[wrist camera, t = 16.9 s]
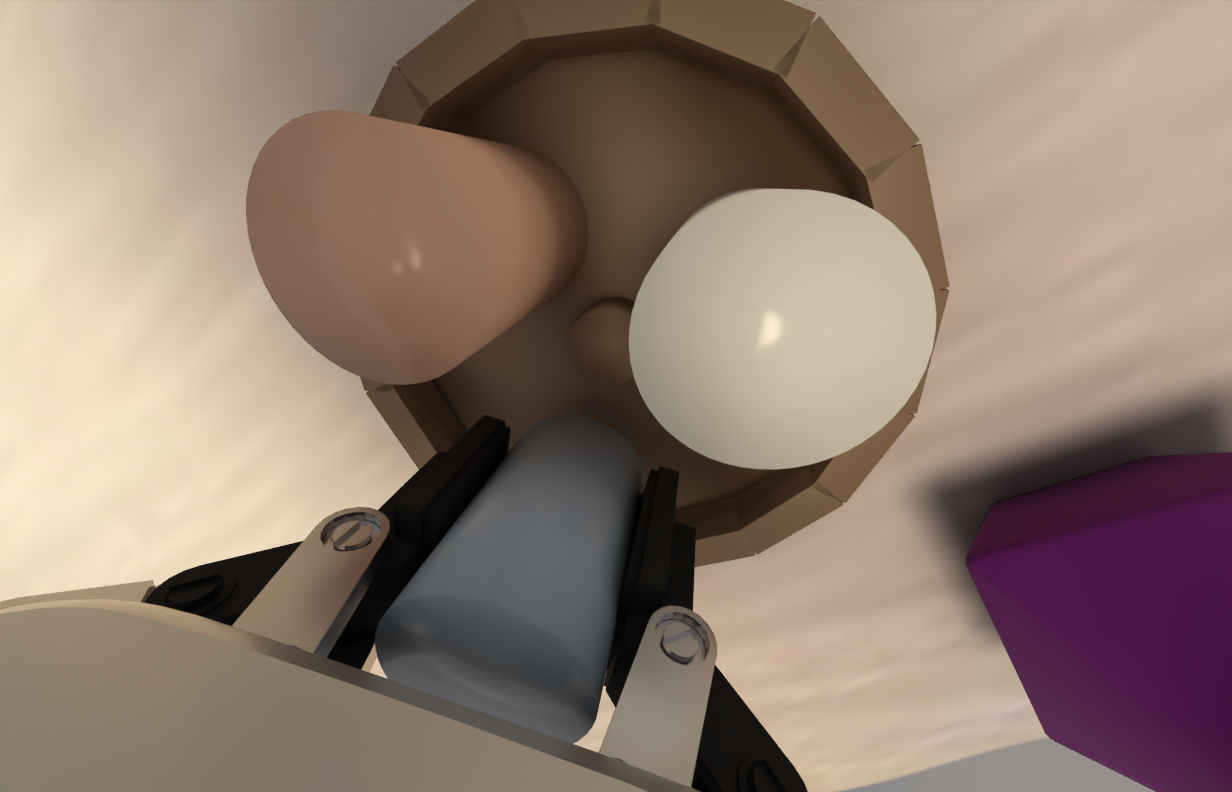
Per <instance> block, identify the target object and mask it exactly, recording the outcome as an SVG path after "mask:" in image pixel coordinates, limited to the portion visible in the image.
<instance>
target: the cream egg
mask: <svg viewBox="0 0 1232 792" xmlns="http://www.w3.org/2000/svg"><path fill="white" fill-rule="evenodd" d="M935 332H936V306H935V298H934V291H933V288H932V284H931V281H930V277H929V274H928V271H927V269H926V267H925V265H924V263H923V261H922V259H921V257H920V255H919V253H918V252H917V251H916V249H915V248H914V247H913V245H912V244H911V242H910V241H909V240H908V238H907V237H906V236H905V235H904V234H903V233H902V232H901V231H900V230H899V229H898V228H897V227H896V226H895V225H894V224H893V223H892V222H890V221H889V220H888V219H886V218H885V217H883V216H882V215H881V214H879V213H878V212H876V211H875V210H873V209H871V208H869V207H867V206H865V205H863V204H861V203H859V202H857V201H855V200H852V199H849V198H846V197H843V196H839V195H836V194H833V193H827V192H821V191H815V190H800V189H769V188H744V189H737V190H733V191H729V192H726V193H723V194H721V195H718V196H716V197H714V198H712V199H710V200H709V201H707V202H705V203H704V204H702V205H701V206H700V207H698V208H697V209H696V210H695V211H694V212H693V213H692V214H691V215H690V216H689V217H688V218H687V219H686V220H685V221H684V223H683V224H682V225H681V226H680V228H679V229H678V231H677V232H676V233H675V235H674V236H673V237H672V239H671V240H670V241H669V243H668V244H667V246H666V247H665V248H664V250H663V251H662V252H661V254H660V255H659V256H658V258H657V259H656V261H655V262H654V264H653V265H652V267H651V269H650V270H649V272H648V273H647V275H646V277H645V279H644V281H643V283H642V285H641V287H640V290H639V292H638V294H637V297H636V301H635V304H634V307H633V310H632V315H631V321H630V327H629V353H630V363H631V367H632V371H633V375H634V379H635V382H636V384H637V387H638V389H639V392H640V394H641V396H642V398H643V400H644V401H645V403H646V405H647V407H648V408H649V410H650V411H651V412H652V414H653V415H654V417H655V418H656V419H657V421H658V422H659V423H660V424H661V425H662V426H663V427H664V428H665V429H666V430H667V431H668V432H669V433H670V434H671V435H673V436H674V437H675V438H676V439H678V440H679V441H680V442H681V443H683V444H684V445H686V446H688V447H689V448H691V449H692V450H694V451H696V452H698V453H700V454H702V455H704V456H706V457H708V458H711V459H714V460H717V461H719V462H722V463H725V464H730V465H734V466H738V467H744V468H752V469H786V468H795V467H800V466H805V465H810V464H814V463H817V462H821V461H824V460H827V459H830V458H832V457H835V456H837V455H839V454H842V453H844V452H846V451H848V450H850V449H852V448H853V447H855V446H857V445H859V444H861V443H862V442H864V441H865V440H867V439H868V438H869V437H871V436H872V435H874V434H875V433H876V432H878V431H879V430H880V429H881V428H882V427H884V426H885V425H886V424H887V423H888V422H889V421H890V420H891V419H892V418H893V417H894V416H895V415H896V414H897V413H898V412H899V411H900V409H901V408H902V407H903V406H904V405H905V404H906V402H907V401H908V399H909V398H910V396H911V395H912V393H913V392H914V390H915V389H916V388H917V386H918V384H919V382H920V380H921V378H922V376H923V374H924V372H925V370H926V367H927V364H928V361H929V358H930V355H931V352H932V348H933V343H934V337H935Z"/></svg>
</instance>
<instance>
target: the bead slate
mask: <svg viewBox="0 0 1232 792" xmlns="http://www.w3.org/2000/svg"><path fill="white" fill-rule="evenodd" d="M645 486H646V477H645V471H644V467H643V464H642V462H641V460H640V457H639V456H638V454H637V452H636V451H635V449H634V448H633V447H632V445H631V444H630V443H629V442H628V441H627V440H626V439H625V438H624V437H623V436H622V435H621V434H619V433H618V432H617V431H616V430H614V429H612V428H611V427H609V426H608V425H606V424H604V423H601V422H599V421H597V420H594V419H591V418H587V417H583V416H576V415H560V416H553V417H549V418H546V419H543V420H541V421H539V422H537V423H535V424H533V425H532V426H530V427H529V428H528V429H527V430H526V431H525V432H524V433H523V434H522V435H521V437H520V438H519V439H518V440H517V442H516V443H515V444H514V446H513V447H512V448H511V450H510V451H509V452H508V453H507V455H506V456H505V457H504V459H503V460H502V461H501V463H500V464H499V465H498V467H497V468H496V469H495V470H494V472H493V473H492V474H491V476H490V477H489V478H488V480H487V481H486V482H485V484H484V485H483V486H482V487H481V489H480V490H479V491H478V493H477V494H476V495H475V497H474V498H473V499H472V500H471V502H470V503H469V504H468V506H467V507H466V508H465V510H464V511H463V512H462V514H461V515H460V516H459V517H458V519H457V520H456V521H455V523H454V524H453V525H452V527H451V528H450V529H449V531H448V532H447V533H446V534H445V536H444V537H443V538H442V540H441V541H440V542H439V544H438V545H437V546H436V548H435V549H434V550H433V551H432V553H431V554H430V555H429V557H428V558H427V559H426V561H425V562H424V563H423V565H422V566H421V567H420V568H419V570H418V571H417V572H416V574H415V575H414V576H413V578H412V579H411V580H410V581H409V583H408V584H407V585H406V587H405V588H404V589H403V591H402V592H401V593H400V595H399V596H398V597H397V598H396V600H395V601H394V602H393V604H392V605H391V606H390V608H389V609H388V610H387V612H386V613H385V614H384V615H383V617H382V618H381V620H380V622H379V624H378V626H377V630H376V633H375V648H376V654H377V657H378V660H379V663H380V665H381V667H382V669H383V671H384V673H385V675H386V676H387V678H388V679H389V680H392V681H395V682H398V683H401V684H404V685H406V686H409V687H412V688H415V689H418V690H421V691H424V692H427V693H429V694H432V695H435V696H438V697H441V698H444V699H447V700H450V701H452V702H455V703H458V704H461V705H464V706H467V707H470V708H472V709H475V710H478V711H481V712H484V713H487V714H490V715H492V716H495V717H498V718H501V719H504V720H507V721H509V722H512V723H515V724H518V725H521V726H524V727H526V728H529V729H532V730H535V731H538V732H540V733H543V734H546V735H549V736H552V737H555V738H557V739H560V740H563V741H566V742H569V743H571V744H573V743H575V742H577V741H579V740H580V739H581V738H582V737H584V736H585V735H586V734H587V733H588V732H589V730H590V729H591V728H592V726H593V724H594V722H595V720H596V717H597V712H598V708H599V703H600V698H601V694H602V689H603V684H604V680H605V675H606V670H607V666H608V661H609V657H610V652H611V647H612V643H613V638H614V633H615V629H616V613H617V609H618V604H619V600H620V595H621V591H622V586H623V582H624V577H625V572H626V568H627V563H628V559H629V554H630V550H631V545H632V541H633V536H634V532H635V527H636V523H637V518H638V514H639V509H640V505H641V500H642V496H643V492H644V489H645Z"/></svg>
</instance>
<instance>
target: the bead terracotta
mask: <svg viewBox="0 0 1232 792" xmlns="http://www.w3.org/2000/svg"><path fill="white" fill-rule="evenodd" d="M246 217H247V227H248V234H249V239H250V244H251V248H252V252H253V255H254V258H255V261H256V265H257V267H258V270H259V272H260V275H261V277H262V279H263V282H264V284H265V286H266V288H267V289H268V291H269V293H270V295H271V297H272V299H273V300H274V302H275V303H276V305H277V306H278V308H279V309H280V311H281V312H282V314H283V315H284V317H285V318H286V319H287V320H288V322H289V323H290V324H291V325H292V327H293V328H294V329H295V330H296V331H297V332H298V333H299V334H300V335H301V336H302V337H303V339H304V340H305V341H307V342H308V343H309V344H310V345H311V346H312V347H313V348H314V349H315V350H317V351H318V352H319V353H321V354H322V355H323V356H325V357H326V358H327V359H329V360H330V361H332V362H333V363H335V364H337V365H338V366H340V367H341V368H343V369H345V370H347V371H349V372H351V373H353V374H356V375H358V376H361V377H363V378H366V379H369V380H372V381H377V382H381V383H386V384H396V385H406V384H416V383H422V382H426V381H429V380H432V379H435V378H438V377H439V376H441V375H443V374H445V373H447V372H449V371H450V370H451V369H453V368H454V367H456V366H457V365H459V364H460V363H461V362H463V361H464V360H466V359H467V358H468V357H470V356H471V355H473V354H474V353H475V352H477V351H478V350H480V349H481V348H483V347H484V346H485V345H487V344H488V343H490V342H491V341H492V340H494V339H495V338H497V337H498V336H499V335H501V334H502V333H504V332H505V331H507V330H508V329H509V328H511V327H512V326H514V325H515V324H516V323H518V322H519V321H521V320H522V319H523V318H525V317H526V316H528V315H529V314H530V313H532V312H533V311H535V310H536V309H538V308H539V307H540V306H542V305H543V304H545V303H546V302H547V301H549V300H550V299H552V298H553V297H554V296H556V295H557V294H559V293H560V292H561V291H563V290H564V289H565V288H566V287H567V286H568V285H569V284H570V283H571V282H572V281H573V279H574V278H575V277H576V275H577V274H578V272H579V270H580V268H581V266H582V264H583V261H584V258H585V255H586V251H587V244H588V223H587V216H586V212H585V208H584V205H583V202H582V199H581V197H580V195H579V193H578V191H577V189H576V187H575V185H574V184H573V182H572V181H571V179H570V178H569V177H568V176H567V174H566V173H565V172H564V171H563V170H562V169H561V168H560V167H559V166H558V165H557V164H556V163H554V162H553V161H552V160H550V159H549V158H547V157H546V156H544V155H542V154H540V153H538V152H536V151H533V150H530V149H527V148H523V147H518V146H513V145H509V144H504V143H499V142H494V141H489V140H484V139H480V138H475V137H470V136H465V135H460V134H455V133H451V132H446V131H441V130H436V129H431V128H426V127H422V126H417V125H412V124H407V123H402V122H397V121H392V120H388V119H383V118H378V117H373V116H368V115H363V114H359V113H352V112H346V111H320V112H314V113H309V114H306V115H303V116H301V117H298V118H296V119H293V120H292V121H290V122H289V123H287V124H286V125H284V126H283V127H281V128H280V129H279V130H278V131H277V132H276V133H274V134H273V135H272V136H271V137H270V138H269V140H268V141H267V142H266V144H265V145H264V147H263V148H262V150H261V151H260V153H259V155H258V157H257V159H256V161H255V164H254V166H253V169H252V172H251V176H250V179H249V184H248V191H247V198H246Z"/></svg>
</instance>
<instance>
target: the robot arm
mask: <svg viewBox="0 0 1232 792" xmlns="http://www.w3.org/2000/svg"><path fill="white" fill-rule="evenodd" d="M509 439H510V427H507V426H505V421H504V420H501V419H498V418H494V417H491V416H488V415H484V416H482V417H481V418H480V419H479V420H478V421H477V422H476V423H475V424H474V425H473V426H472V427H471V428H470V429H469V430H468V431H467V432H466V433H465V434H464V435H463V437H462V438H461V439H460V440H459V441H458V442H457V443H456V444H455V445H454V446H453V447H452V448H451V449H450V450H449V451H448V452H444V451H440V452H438V453H437V454H435V455H434V456H433V457H432V458H431V459H430V460H429V461H428V462H427V463H426V464H425V465H424V466H423V467H422V468H421V469H420V470H419V471H418V472H417V473H416V474H415V475H413V476H412V477H411V478H410V479H409V480H408V481H407V482H406V483H405V484H404V485H403V486H402V487H401V488H400V489H399V490H398V491H397V492H396V493H395V494H394V495H393V496H392V497H391V498H390V499H389V500H388V501H387V502H386V503H385V504H384V505H383V506H382V507H380V508H379V509H378V510H375V509H372V508H365V507H355V508H348V509H344V510H341V511H338V512H335V513H333V514H331V515H330V516H328V517H326V518H324V519H323V520H322V521H321V522H320V523H319V524H318V525H317V526H316V527H315V528H314V529H313V530H312V532H311V533H310V534H309V535H308V536H307V538H306V539H305V540H304V541H301V542H297V543H293V544H289V545H284V546H280V547H276V548H272V549H268V550H263V551H259V552H255V553H251V554H247V555H242V556H238V557H234V558H230V559H226V560H221V561H217V562H213V563H209V564H205V565H200V566H197V567H194V568H191V569H188V570H185V571H183V572H181V573H179V574H177V575H175V576H173V577H171V578H169V579H168V580H166V581H165V582H163V583H162V584H161V585H159V586H155V585H154V582H153V580H150V581H143V582H135V583H127V584H120V585H112V586H104V587H96V588H89V589H81V590H73V591H66V592H58V593H50V594H42V595H35V596H27V597H19V598H15V599H11V600H6V601H2V602H0V792H808V791H807V789H806V786H805V784H804V781H803V780H802V778H801V777H800V775H799V774H798V772H797V770H796V769H795V767H794V766H793V765H792V763H791V762H790V761H789V759H788V758H787V757H786V756H785V754H784V753H783V752H782V750H781V749H780V748H779V747H778V745H777V744H776V743H775V741H774V740H773V739H772V737H771V736H770V735H769V734H768V732H767V731H766V730H765V728H764V727H763V726H762V725H761V723H760V722H759V721H758V719H757V718H756V717H755V716H754V714H753V713H752V712H751V710H750V709H749V708H748V706H747V705H746V704H745V703H744V701H743V700H742V699H741V697H740V696H739V695H738V694H737V692H736V691H735V690H734V688H733V687H732V686H731V685H730V683H729V682H728V681H727V679H726V678H725V677H724V675H723V674H722V673H721V672H720V670H719V669H718V668H717V666H716V665H715V661H716V656H717V643H716V640H715V636H714V633H713V632H712V630H711V628H710V627H709V625H708V624H707V623H706V622H705V621H704V620H703V619H702V618H701V617H700V616H699V615H698V614H696V613H694V612H693V591H694V567H695V544H696V529H695V527H692V526H688V525H685V524H682V523H678V522H675V521H674V517H675V508H676V499H677V489H678V480H679V472H678V471H675V470H671V469H668V468H665V467H661V466H660V467H659V469H658V471H656V470H652V469H651V470H650V473H649V476H648V479H647V483H646V486H645V489H644V492H643V496H642V500H641V505H640V509H639V514H638V518H637V523H636V527H635V532H634V536H633V541H632V545H631V550H630V554H629V559H628V563H627V568H626V572H625V577H624V582H623V586H622V591H621V595H620V600H619V604H618V609H617V613H616V629H615V633H614V638H613V643H612V647H611V652H610V657H609V661H608V666H607V672H606V677H605V681H604V686H606V692H607V693H608V695H609V697H610V699H611V701H612V702H613V704H614V706H615V711H614V714H613V716H612V719H611V722H610V724H609V727H608V730H607V732H606V735H605V738H604V740H603V743H602V746H601V748H600V751H599V753H597V752H594V751H591V750H588V749H586V748H583V747H580V746H577V745H574V744H571V743H569V742H566V741H563V740H560V739H557V738H555V737H552V736H549V735H546V734H543V733H540V732H538V731H535V730H532V729H529V728H526V727H524V726H521V725H518V724H515V723H512V722H509V721H507V720H504V719H501V718H498V717H495V716H492V715H490V714H487V713H484V712H481V711H478V710H475V709H472V708H470V707H467V706H464V705H461V704H458V703H455V702H452V701H450V700H447V699H444V698H441V697H438V696H435V695H432V694H429V693H427V692H424V691H421V690H418V689H415V688H412V687H409V686H406V685H404V684H401V683H398V682H395V681H392V680H389V679H386V678H383V677H381V676H378V675H375V674H372V673H369V672H370V670H371V668H372V666H373V664H374V662H375V660H376V658H377V654H376V648H375V633H376V630H377V626H378V624H379V622H380V620H381V618H382V617H383V615H384V614H385V613H386V612H387V610H388V609H389V608H390V606H391V605H392V604H393V602H394V601H395V600H396V598H397V597H398V596H399V595H400V593H401V592H402V591H403V589H404V588H405V587H406V585H407V584H408V583H409V581H410V580H411V579H412V578H413V576H414V575H415V574H416V572H417V571H418V570H419V568H420V567H421V566H422V565H423V563H424V562H425V561H426V559H427V558H428V557H429V555H430V554H431V553H432V551H433V550H434V549H435V548H436V546H437V545H438V544H439V542H440V541H441V540H442V538H443V537H444V536H445V534H446V533H447V532H448V531H449V529H450V528H451V527H452V525H453V524H454V523H455V521H456V520H457V519H458V517H459V516H460V515H461V514H462V512H463V511H464V510H465V508H466V507H467V506H468V504H469V503H470V502H471V500H472V499H473V498H474V497H475V495H476V494H477V493H478V491H479V490H480V489H481V487H482V486H483V485H484V484H485V482H486V481H487V480H488V478H489V477H490V476H491V474H492V473H493V472H494V470H495V469H496V468H497V467H498V465H499V464H500V463H501V461H502V460H503V459H504V457H505V456H506V455H507V453H508V447H509Z"/></svg>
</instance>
